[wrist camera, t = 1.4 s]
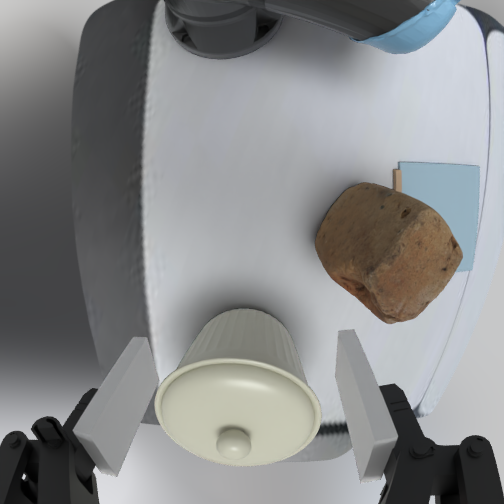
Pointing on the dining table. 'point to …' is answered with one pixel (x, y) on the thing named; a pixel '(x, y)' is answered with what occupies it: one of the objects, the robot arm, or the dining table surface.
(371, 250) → the pitted brown rock
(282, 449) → the canister
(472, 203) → the book
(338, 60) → the dining table surface
